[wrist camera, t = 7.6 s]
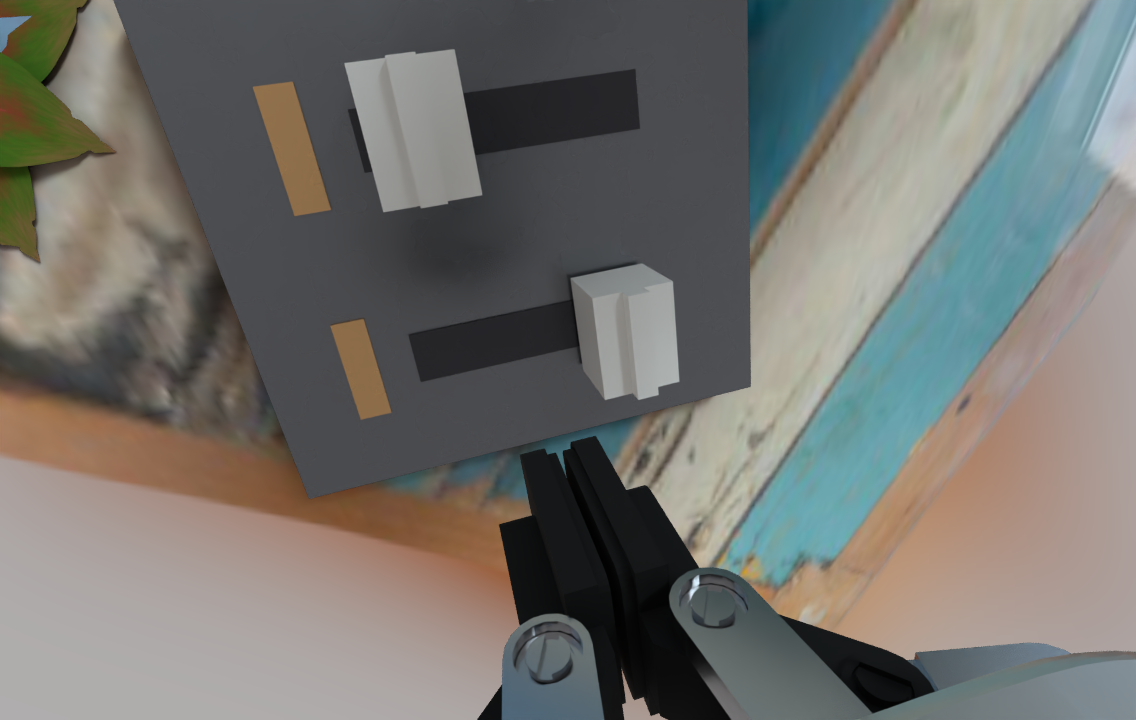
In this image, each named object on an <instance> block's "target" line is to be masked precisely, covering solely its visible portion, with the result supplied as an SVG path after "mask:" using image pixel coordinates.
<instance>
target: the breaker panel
mask: <svg viewBox="0 0 1136 720" xmlns="http://www.w3.org/2000/svg"><path fill="white" fill-rule="evenodd" d="M113 1H114V3H115V6H116V8H117V11H118V13H119V16H120V19H121V21H122V24H123V26H124V29H125V31H126V34H127V36H128V39H129V41H130V44H131V47H132V49H133V52H134V54H135V57H136V59H137V62H138V64H139V67H140V69H141V72H142V75H143V77H144V80H145V82H146V85H147V87H148V90H149V92H150V95H151V98H152V100H153V103H154V105H155V108H156V110H157V113H158V115H159V118H160V120H161V123H162V126H163V128H164V131H165V133H166V136H167V138H168V141H169V143H170V146H171V148H172V151H173V154H174V156H175V159H176V161H177V164H178V166H179V169H180V171H181V174H182V176H183V179H184V182H185V184H186V187H187V189H188V192H189V194H190V197H191V199H192V202H193V204H194V207H195V210H196V212H197V215H198V217H199V220H200V222H201V225H202V227H203V230H204V232H205V235H206V238H207V240H208V243H209V245H210V248H211V250H212V253H213V255H214V258H215V260H216V263H217V266H218V268H219V271H220V273H221V276H222V278H223V281H224V283H225V286H226V288H227V291H228V294H229V296H230V299H231V301H232V304H233V306H234V309H235V311H236V314H237V317H238V319H239V322H240V324H241V327H242V329H243V332H244V334H245V337H246V339H247V342H248V345H249V347H250V350H251V352H252V355H253V357H254V360H255V362H256V365H257V367H258V370H259V373H260V375H261V378H262V380H263V383H264V385H265V388H266V390H267V393H268V395H269V398H270V401H271V403H272V406H273V408H274V411H275V413H276V416H277V418H278V421H279V423H280V426H281V429H282V431H283V434H284V436H285V439H286V441H287V444H288V446H289V449H290V451H291V454H292V457H293V459H294V462H295V464H296V467H297V469H298V472H299V474H300V477H301V479H302V482H303V485H304V487H305V490H306V492H307V495H308V497H309V499H311V498H315V497H319V496H323V495H327V494H331V493H335V492H339V491H342V490H346V489H350V488H354V487H358V486H362V485H366V484H370V483H374V482H378V481H382V480H386V479H390V478H394V477H398V476H401V475H405V474H409V473H413V472H417V471H421V470H425V469H429V468H433V467H437V466H441V465H445V464H449V463H453V462H457V461H460V460H464V459H468V458H472V457H476V456H480V455H484V454H488V453H492V452H496V451H500V450H504V449H508V448H512V447H516V446H519V445H523V444H527V443H531V442H535V441H539V440H543V439H547V438H551V437H555V436H559V435H563V434H567V433H571V432H575V431H579V430H582V429H586V428H590V427H594V426H598V425H602V424H606V423H610V422H614V421H618V420H622V419H626V418H630V417H634V416H638V415H641V414H645V413H649V412H653V411H657V410H661V409H665V408H669V407H673V406H677V405H681V404H685V403H689V402H693V401H697V400H700V399H704V398H708V397H712V396H716V395H720V394H724V393H728V392H732V391H736V390H740V389H744V388H748V387H751V362H750V240H749V118H748V0H113ZM451 49H455V54H456V59H457V65H458V70H459V75H460V80H461V86H462V91H463V96H464V101H465V106H466V112H467V117H468V122H469V127H470V133H471V138H472V143H473V148H474V153H475V159H476V164H477V169H478V174H479V180H480V185H481V190H482V195H481V196H475V197H469V198H463V199H458V200H452V201H448V204H443V205H438V206H432V207H426V208H421V207H420V206H417V207H412V208H406V209H400V210H394V211H388V212H383V209H382V205H381V201H380V197H379V193H378V190H377V186H376V182H375V178H374V174H373V171H372V167H371V163H370V159H369V155H368V152H367V148H366V144H365V140H364V136H363V133H362V129H361V125H360V121H359V117H358V113H357V110H356V106H355V102H354V98H353V94H352V91H351V87H350V83H349V79H348V75H347V72H346V68H345V64H344V63H349V62H357V61H365V60H373V59H381V58H385V55H391V54H399V53H407V52H415V53H416V54H420V53H428V52H436V51H444V50H451ZM637 264H644V265H646V266H647V267H649V268H651V269H653V270H654V271H656V272H658V273H659V274H661V275H663V276H665V277H666V278H668V279H670V280H672V281H673V291H674V307H675V322H676V338H677V353H678V369H679V382H676V383H672V384H668V385H664V386H660V387H658V393H659V395H657V396H653V397H648V398H644V399H640V400H638V399H637V398H636V397H635V395H634V394H633V393H632V394H628V395H624V396H619V397H615V398H611V399H607V400H605V399H604V398H603V397H602V395H601V394H600V392H599V391H598V390H597V388H596V387H595V386H594V384H593V383H592V381H591V380H590V379H589V377H588V376H587V374H586V373H585V372H584V370H583V365H582V358H581V351H580V344H579V336H578V329H577V322H576V315H575V308H574V300H573V293H572V286H571V279H570V278H573V277H578V276H583V275H588V274H593V273H598V272H603V271H608V270H612V269H617V268H622V267H627V266H632V265H637Z"/></svg>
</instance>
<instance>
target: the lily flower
mask: <svg viewBox="0 0 1136 720" xmlns="http://www.w3.org/2000/svg"><path fill="white" fill-rule="evenodd" d="M86 1H87V0H0V18H1V17H17V16H32V17H31V18H29V19H28V20H27V21H25V22H24V23H23V24H22V25H20V26H19V27H18V28H16V29H15V30H14V31H13V32H11V33H10V34H9V35H8V40H7V46H6V48H5V49H4V50H3V51H2V53H0V244H1V245H10V246H19V248H20V251H21V252H23V253H25V254H26V255H28V256H30V257H32V258H34V259H35V260H37V261H39V262H40V259H39V255H38V252H37V249H35V248H36V247H37V242H36V229H35V228H34V226H33V224H32V221H34V220H35V219H36V217H35V204H34V197H33V188H32V185H31V184H32V182H31V177H30V173H29V170H28V167H27V166H32V165H40V164H46V163H51V162H57V161H61V160H66V159H71V158H75V157H78V156H79V155H80V154H81V153H82V154H83V153H85V152H86V151H89V150H90V151H93V153H102V152H116V151H114V150H113V149H112V148H111V147H109V146H108V145H107V144H105V143H103V142H102V141H100V140H99V138H98V137H97V136H96V135H95V134H94V133H93V132H92V131H91V130H90V129H89V128H88V127H87V126H86V125H85V124H84V123H83V122H82V121H80V120H78V119H75V118H73V117H72V115H71V111H70V109H69V108H68V107H67V106H66V105H65V104H64V103H62V102H61V101H60V100H59V99H58V98H57V97H56V96H55V95H54V94H53V93H52V92H51V91H49V90H48V89H47V88H46V87H45V86H44V85H43V84H42V83H41V82H42V81H43V80H44V79H45V77H46V76H47V75H48V74H49V73H50V72H51V70H52V69H53V67H54V66H55V64H56V62H57V61H58V59H59V57H60V55H61V54H62V52H63V50H64V48H65V46H66V44H67V42H68V40H69V38H70V35H71V33H72V31H73V29H74V26H75V24H76V22H77V20H76V15H77V8H78V7H79V6H80V7H81V8H82V6H84V4H85V3H86ZM76 7H77V8H76Z"/></svg>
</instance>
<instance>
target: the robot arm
mask: <svg viewBox="0 0 1136 720" xmlns="http://www.w3.org/2000/svg"><path fill="white" fill-rule="evenodd" d="M563 458H564V464H565V470H566V476H565V473H564V471H563V468H562V466H561V464H560V461H559V459H558V456H557V454H556V453H552V454H548V455H547V453H546V450H545V449H541V450H537V451H533V452H529V453H525V454H521V455H520V459H521V464H522V469H523V474H524V479H525V484H526V489H527V494H528V499H529V504H530V509H531V514H532V516H528V517H525V518H521V519H517V520H514V521H510V522H506V523H502V524H499V527H500V532H501V536H502V541H503V546H504V551H505V556H506V561H507V566H508V571H509V576H510V580H511V585H512V590H513V595H514V600H515V605H516V610H517V614H518V619H519V624H520V627H518V628H517V629H516V630H515V632H513V634H512V635H511V636H510V638H509V640H508V642H507V644H506V645H505V648H504V654H503V663H502V668H503V670H502V685H501V687H500V688H499V689H498V691H497V692H496V694H495V695H494V697H493V698H492V699H491V701H490V702H489V704H488V705H487V706H486V708H485V709H484V711H483V712H482V713H481V715H480V716H479V718H478V719H477V720H624V714H623V708H622V704H624V703H626V700H625V692H624V685H623V678H622V671H623V673H624V676H625V679H626V681H627V684H628V687H629V689H630V692H631V694H632V697H633V699H634V700H636V699H639V698H642V697H644V699H645V702H646V705H647V707H648V710H649V712H650V715H651V716H652V715H655V714H658V713H659V714H660V716H662V717H663V718H665V719H668V720H1136V652H1129V651H1101V652H1100V651H1099V652H1085V653H1073V654H1071V653H1069V652H1067V651H1066V650H1063V649H1060V648H1056V647H1053V646H1051V645H1047V644H1040V643H1019V644H1008V645H996V646H985V647H974V648H962V649H950V650H939V651H928V652H916V653H915V659H914V660H905V659H904V658H903V657H900V656H898V655H896V654H894V653H891V652H889V651H887V650H884V649H881V648H878V647H875V646H872V645H869V644H866V643H863V642H860V641H857V640H854V639H851V638H848V637H845V636H842V635H839V634H836V633H833V632H830V631H827V630H824V629H821V628H818V627H815V626H812V625H809V624H806V623H803V622H800V621H797V620H794V619H791V618H788V617H785V616H782V615H779V614H777V613H776V612H775V611H774V609H773V608H772V607H771V606H770V605H769V604H768V603H767V602H766V601H765V600H764V599H763V598H762V597H761V596H760V595H759V594H758V593H757V592H756V591H755V590H754V589H753V587H752V586H751V585H750V584H749V583H748V582H746V581H745V580H744V579H742V578H741V577H740V576H739V575H737V574H734V573H732V572H730V571H728V570H724V569H719V568H714V567H710V568H699V567H698V565H697V563H696V562H695V560H694V559H693V557H692V555H691V554H690V552H689V551H688V549H687V548H686V546H685V544H684V543H683V541H682V540H681V538H680V536H679V535H678V533H677V532H676V530H675V528H674V527H673V525H672V524H671V522H670V520H669V519H668V517H667V516H666V514H665V512H664V511H663V509H662V508H661V506H660V504H659V503H658V501H657V500H656V498H655V496H654V495H653V493H652V492H651V490H650V489H649V488H648V487H647V486H646V485H644V486H640V487H636V488H633V489H629V490H626V489H625V487H624V485H623V484H622V482H621V480H620V478H619V476H618V475H617V473H616V471H615V469H614V468H613V466H612V464H611V462H610V460H609V459H608V457H607V455H606V453H605V452H604V450H603V448H602V446H601V444H600V443H599V441H598V439H597V438H596V436H593V437H589V438H585V439H581V440H577V441H573V442H571V449H568V450H564V451H563ZM566 477H567V478H566ZM621 668H622V670H621Z"/></svg>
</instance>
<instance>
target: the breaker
mask: <svg viewBox="0 0 1136 720" xmlns="http://www.w3.org/2000/svg"><path fill="white" fill-rule="evenodd" d="M344 64H345V68H346V72H347V75H348V79H349V83H350V87H351V91H352V94H353V98H354V102H355V106H356V110H357V113H358V117H359V121H360V125H361V129H362V133H363V136H364V140H365V144H366V148H367V152H368V155H369V159H370V163H371V167H372V171H373V174H374V178H375V182H376V186H377V190H378V193H379V197H380V201H381V205H382V209H383V212H388V211H394V210H400V209H406V208H412V207H417V206H420V207H421V208H426V207H432V206H438V205H443V204H448V201H452V200H458V199H463V198H469V197H475V196H481V195H482V190H481V185H480V180H479V174H478V169H477V164H476V159H475V153H474V148H473V143H472V138H471V133H470V127H469V122H468V117H467V112H466V106H465V101H464V96H463V91H462V86H461V80H460V75H459V70H458V65H457V59H456V54H455V49H451V50H444V51H436V52H428V53H420V54H416V53H415V52H407V53H399V54H391V55H385V58H381V59H373V60H365V61H357V62H349V63H344Z"/></svg>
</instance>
